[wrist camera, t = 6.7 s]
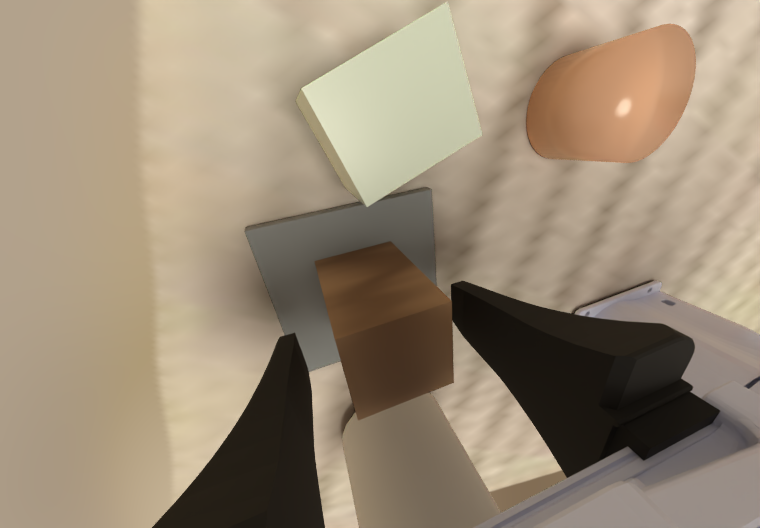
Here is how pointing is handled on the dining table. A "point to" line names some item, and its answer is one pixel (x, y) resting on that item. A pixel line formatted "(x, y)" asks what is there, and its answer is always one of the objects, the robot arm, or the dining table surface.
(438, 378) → the walnut block
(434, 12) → the green plastic box
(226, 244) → the dining table surface
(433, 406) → the can
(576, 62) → the peach dome knob
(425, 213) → the slate coaster
